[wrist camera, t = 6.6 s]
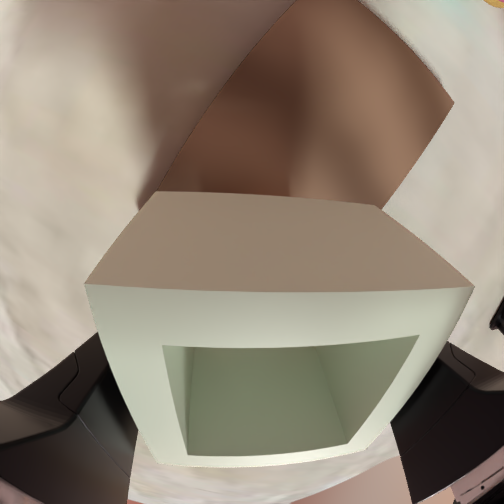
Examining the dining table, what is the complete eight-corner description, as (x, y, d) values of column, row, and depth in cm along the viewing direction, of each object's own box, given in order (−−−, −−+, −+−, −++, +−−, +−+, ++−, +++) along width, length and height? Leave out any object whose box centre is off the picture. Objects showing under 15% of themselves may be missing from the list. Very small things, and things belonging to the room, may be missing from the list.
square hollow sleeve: (329, 355, 12) (364, 450, 8) (170, 356, 11) (157, 463, 7) (374, 205, 9) (475, 286, 4) (155, 191, 8) (84, 283, 4)
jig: (290, 303, 17) (314, 379, 12) (141, 223, 14) (100, 286, 9) (443, 101, 12) (519, 112, 7) (316, -18, 9) (363, -71, 4)
